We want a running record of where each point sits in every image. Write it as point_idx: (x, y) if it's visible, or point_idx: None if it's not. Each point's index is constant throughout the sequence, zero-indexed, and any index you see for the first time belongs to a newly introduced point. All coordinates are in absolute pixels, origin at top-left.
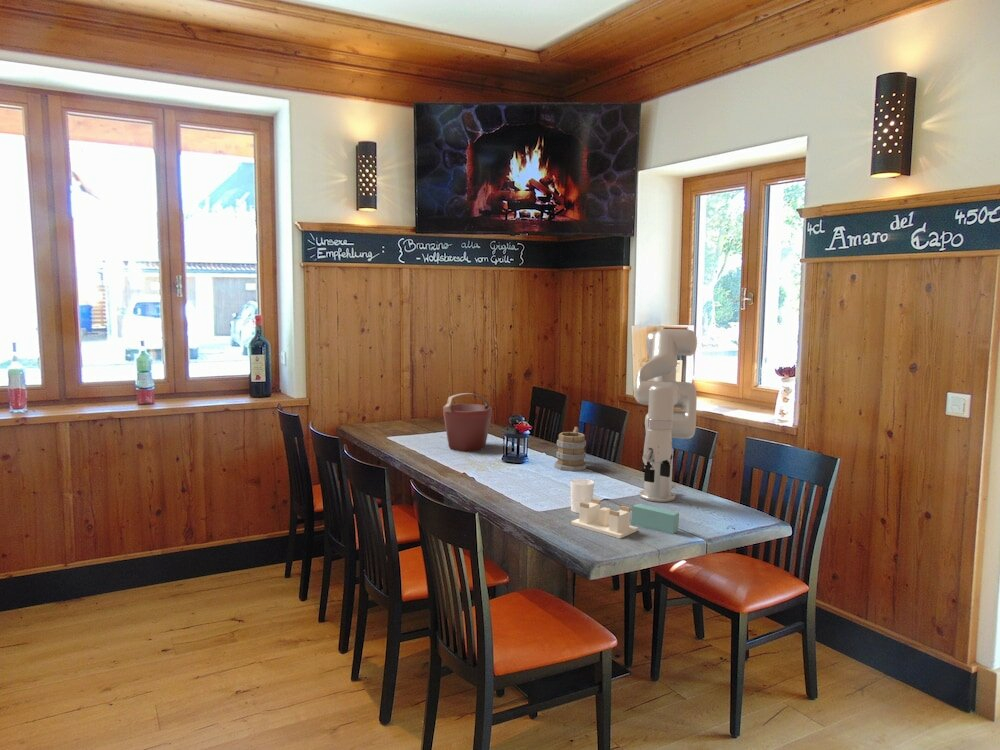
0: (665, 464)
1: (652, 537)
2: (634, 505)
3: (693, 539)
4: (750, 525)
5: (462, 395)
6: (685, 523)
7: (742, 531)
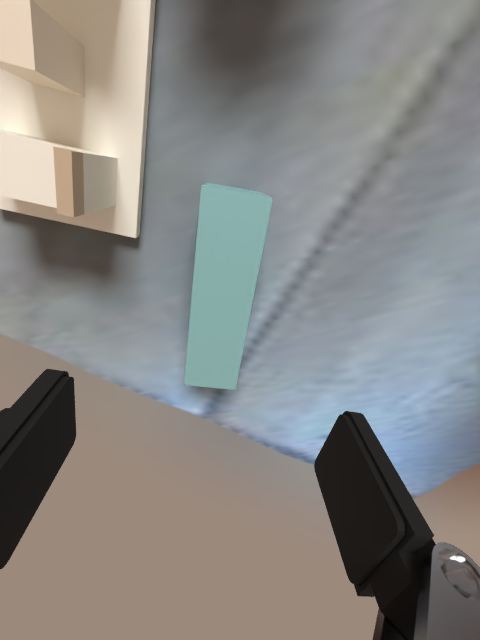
0: (378, 566)
1: (111, 303)
2: (220, 192)
3: (181, 398)
4: None
5: None
6: (316, 348)
7: None
